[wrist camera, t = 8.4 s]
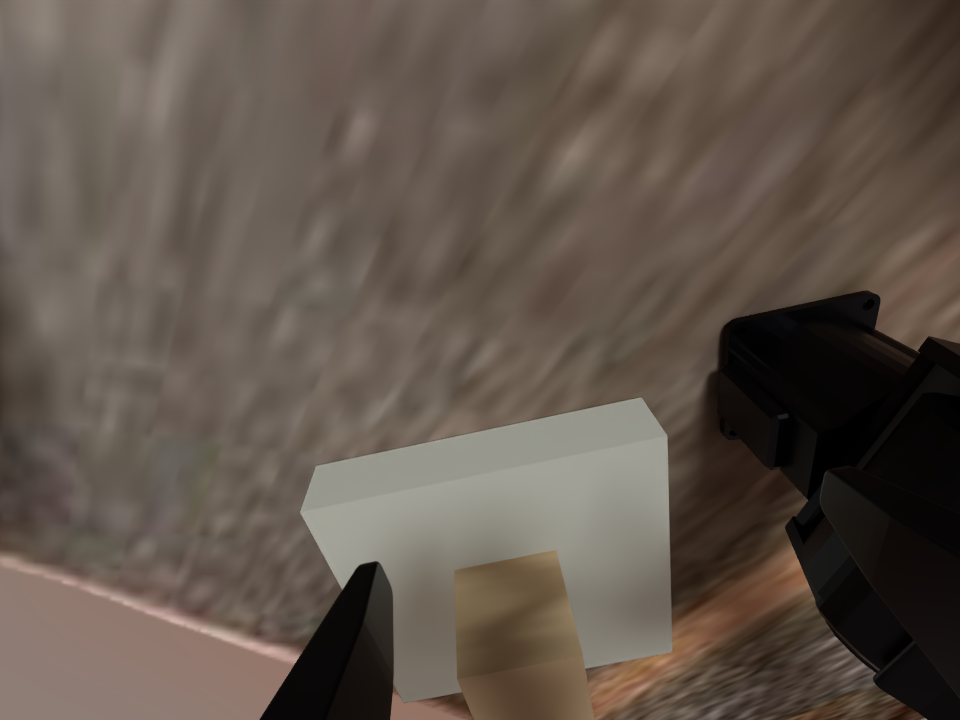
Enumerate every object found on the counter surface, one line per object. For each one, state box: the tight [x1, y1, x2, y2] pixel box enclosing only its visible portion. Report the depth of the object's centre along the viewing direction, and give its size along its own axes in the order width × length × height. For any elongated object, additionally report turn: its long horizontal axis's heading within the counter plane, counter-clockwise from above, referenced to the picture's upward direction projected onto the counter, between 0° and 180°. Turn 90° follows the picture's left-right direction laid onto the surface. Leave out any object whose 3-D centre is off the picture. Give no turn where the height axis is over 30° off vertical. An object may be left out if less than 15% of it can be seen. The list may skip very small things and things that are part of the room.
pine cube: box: [454, 550, 594, 720], centre depth 22 cm, size 5×5×5 cm
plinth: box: [300, 397, 672, 703], centre depth 26 cm, size 16×16×3 cm
